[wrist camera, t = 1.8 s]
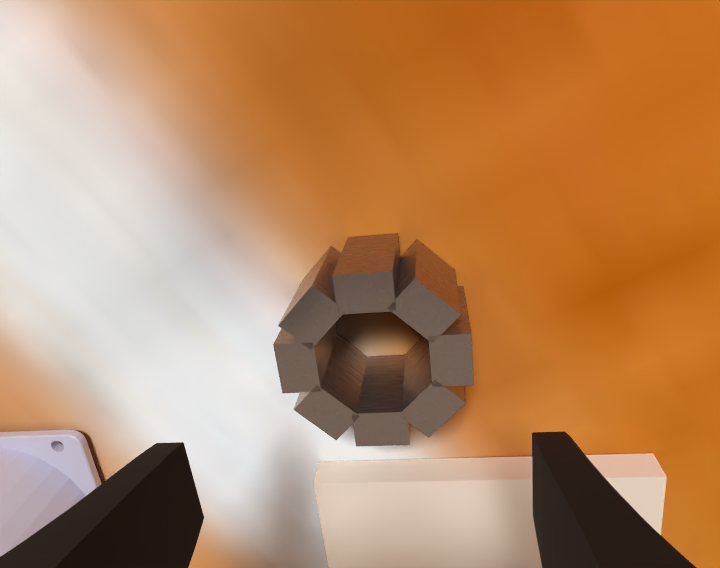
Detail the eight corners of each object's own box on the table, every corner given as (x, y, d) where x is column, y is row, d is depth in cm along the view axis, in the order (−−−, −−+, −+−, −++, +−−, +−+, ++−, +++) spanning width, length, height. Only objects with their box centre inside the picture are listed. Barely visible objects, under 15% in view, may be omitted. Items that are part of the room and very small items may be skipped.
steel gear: (312, 387, 20) (293, 447, 17) (288, 241, 18) (261, 280, 15) (468, 381, 20) (476, 442, 17) (460, 228, 18) (468, 265, 15)
